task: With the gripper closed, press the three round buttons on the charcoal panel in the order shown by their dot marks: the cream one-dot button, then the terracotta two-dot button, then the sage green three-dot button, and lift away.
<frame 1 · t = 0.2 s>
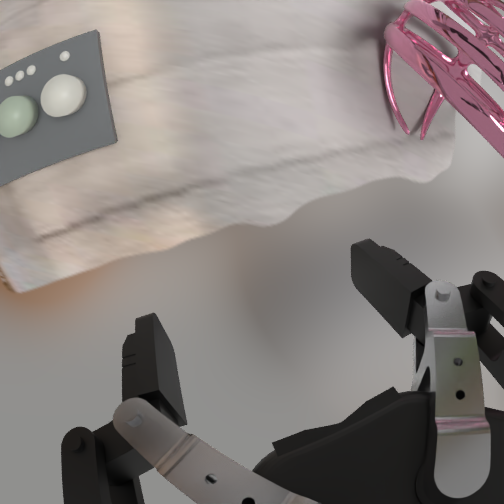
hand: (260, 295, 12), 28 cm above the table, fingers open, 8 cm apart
sage button: (16, 115, 22), point 5 cm above the table, slide at 0.0 cm
cream button: (63, 95, 24), point 5 cm above the table, slide at 0.0 cm
spiral basket: (415, 69, 38), on the table
charcoal panel: (32, 113, 26), on the table
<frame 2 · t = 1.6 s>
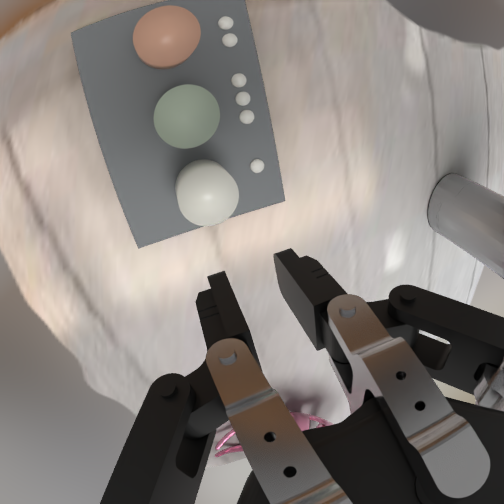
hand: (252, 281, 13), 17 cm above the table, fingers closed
terracotta button: (166, 38, 16), point 5 cm above the table, slide at 0.0 cm
sage button: (185, 115, 20), point 5 cm above the table, slide at 0.0 cm
cream button: (205, 191, 23), point 5 cm above the table, slide at 0.0 cm
spiral basket: (271, 428, 53), on the table
charcoal panel: (180, 112, 24), on the table
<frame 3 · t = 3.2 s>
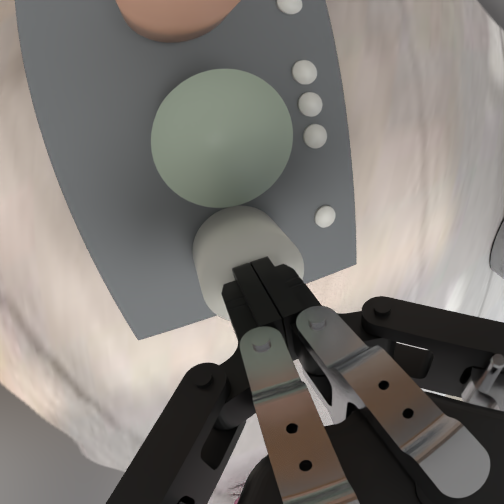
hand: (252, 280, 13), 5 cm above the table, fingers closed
sage button: (216, 134, 10), point 5 cm above the table, slide at 0.0 cm
cream button: (245, 263, 14), point 4 cm above the table, slide at 0.9 cm, touching gripper
charcoal panel: (199, 123, 14), on the table
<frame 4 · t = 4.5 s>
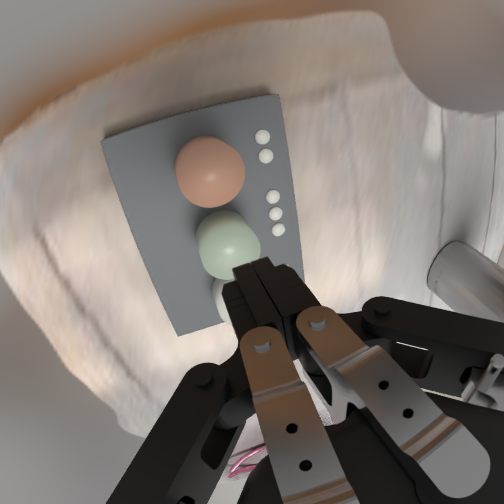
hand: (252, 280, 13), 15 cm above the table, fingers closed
terracotta button: (208, 170, 20), point 5 cm above the table, slide at 0.0 cm
sage button: (226, 244, 24), point 5 cm above the table, slide at 0.0 cm
cream button: (239, 296, 28), point 4 cm above the table, slide at 1.0 cm
spiral basket: (277, 451, 56), on the table
charcoal panel: (215, 220, 28), on the table
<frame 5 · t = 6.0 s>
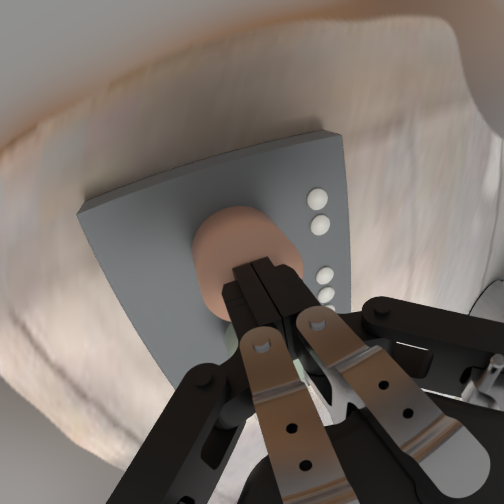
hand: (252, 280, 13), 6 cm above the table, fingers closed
terracotta button: (244, 263, 14), point 5 cm above the table, slide at 0.2 cm, touching gripper
sage button: (268, 351, 17), point 5 cm above the table, slide at 0.0 cm
cream button: (276, 391, 21), point 4 cm above the table, slide at 1.0 cm
charcoal panel: (245, 302, 21), on the table
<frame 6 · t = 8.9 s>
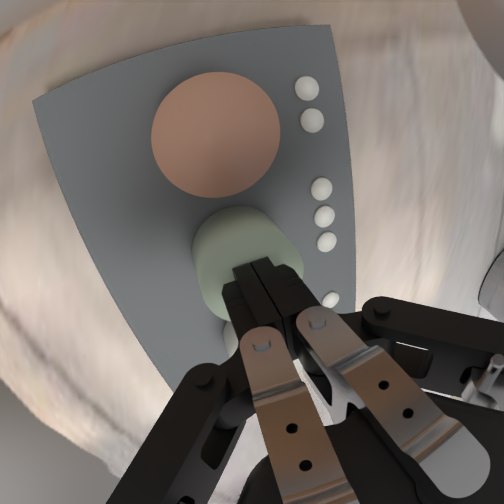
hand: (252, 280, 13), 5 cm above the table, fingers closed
terracotta button: (210, 131, 11), point 4 cm above the table, slide at 1.0 cm
sage button: (244, 263, 14), point 4 cm above the table, slide at 0.9 cm, touching gripper
cream button: (266, 346, 17), point 4 cm above the table, slide at 1.0 cm
charcoal panel: (226, 228, 17), on the table
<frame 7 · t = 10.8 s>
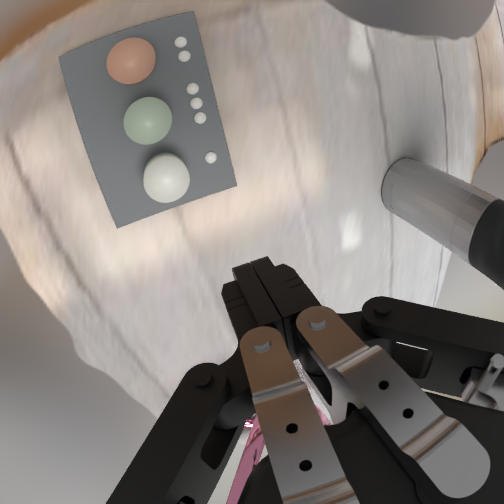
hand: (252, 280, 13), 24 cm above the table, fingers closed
terracotta button: (131, 62, 22), point 4 cm above the table, slide at 1.0 cm
sage button: (147, 119, 26), point 4 cm above the table, slide at 1.0 cm
cream button: (165, 176, 29), point 4 cm above the table, slide at 1.0 cm
spiral basket: (249, 403, 58), on the table
charcoal panel: (148, 117, 29), on the table
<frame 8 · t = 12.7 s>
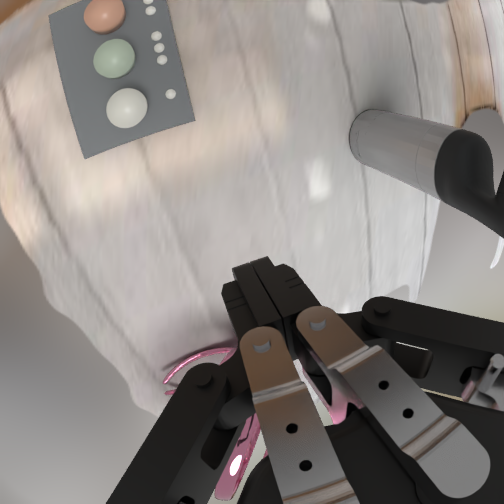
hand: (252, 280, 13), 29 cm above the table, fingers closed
terracotta button: (105, 14, 22), point 4 cm above the table, slide at 1.0 cm
sage button: (115, 59, 26), point 4 cm above the table, slide at 1.0 cm
cream button: (127, 107, 29), point 4 cm above the table, slide at 1.0 cm
spiral basket: (221, 370, 58), on the table
charcoal panel: (119, 63, 29), on the table
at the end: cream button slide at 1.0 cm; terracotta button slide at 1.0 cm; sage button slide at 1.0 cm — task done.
